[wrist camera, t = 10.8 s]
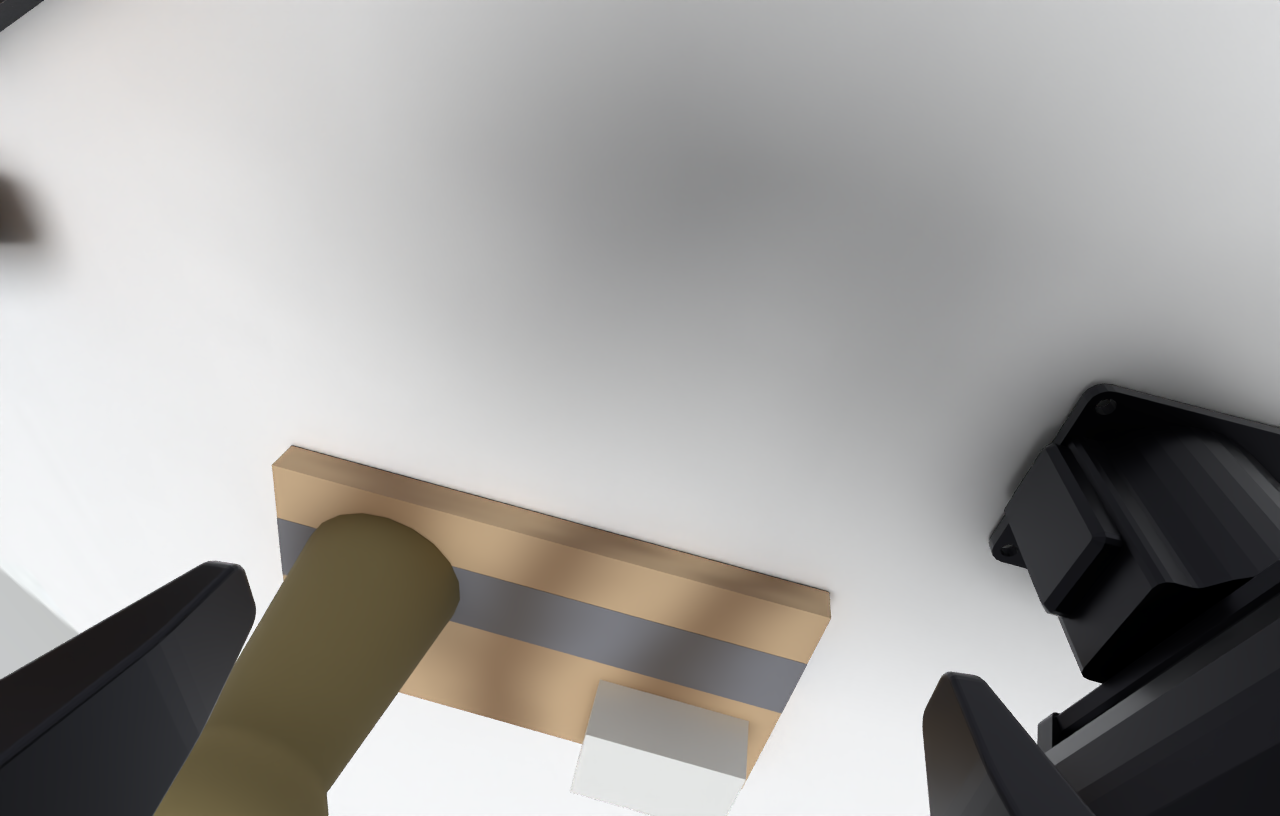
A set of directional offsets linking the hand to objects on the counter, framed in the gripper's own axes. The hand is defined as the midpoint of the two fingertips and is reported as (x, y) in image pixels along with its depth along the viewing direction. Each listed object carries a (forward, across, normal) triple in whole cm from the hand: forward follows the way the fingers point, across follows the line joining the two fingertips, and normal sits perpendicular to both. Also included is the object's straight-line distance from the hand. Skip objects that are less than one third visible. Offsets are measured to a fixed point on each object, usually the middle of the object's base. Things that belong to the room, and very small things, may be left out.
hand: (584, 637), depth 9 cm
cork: (+12, +9, +14) cm, 20 cm away
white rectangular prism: (+11, -2, +19) cm, 23 cm away
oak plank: (+13, +4, +16) cm, 21 cm away
